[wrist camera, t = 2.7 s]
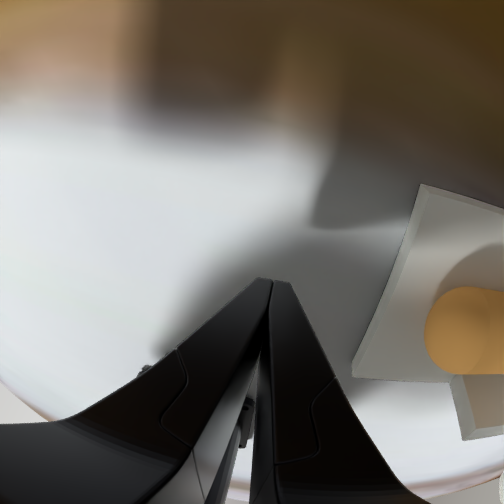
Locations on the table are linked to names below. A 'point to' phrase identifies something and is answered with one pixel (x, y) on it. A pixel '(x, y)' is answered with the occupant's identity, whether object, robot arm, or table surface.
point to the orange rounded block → (467, 331)
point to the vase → (501, 488)
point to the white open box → (428, 292)
